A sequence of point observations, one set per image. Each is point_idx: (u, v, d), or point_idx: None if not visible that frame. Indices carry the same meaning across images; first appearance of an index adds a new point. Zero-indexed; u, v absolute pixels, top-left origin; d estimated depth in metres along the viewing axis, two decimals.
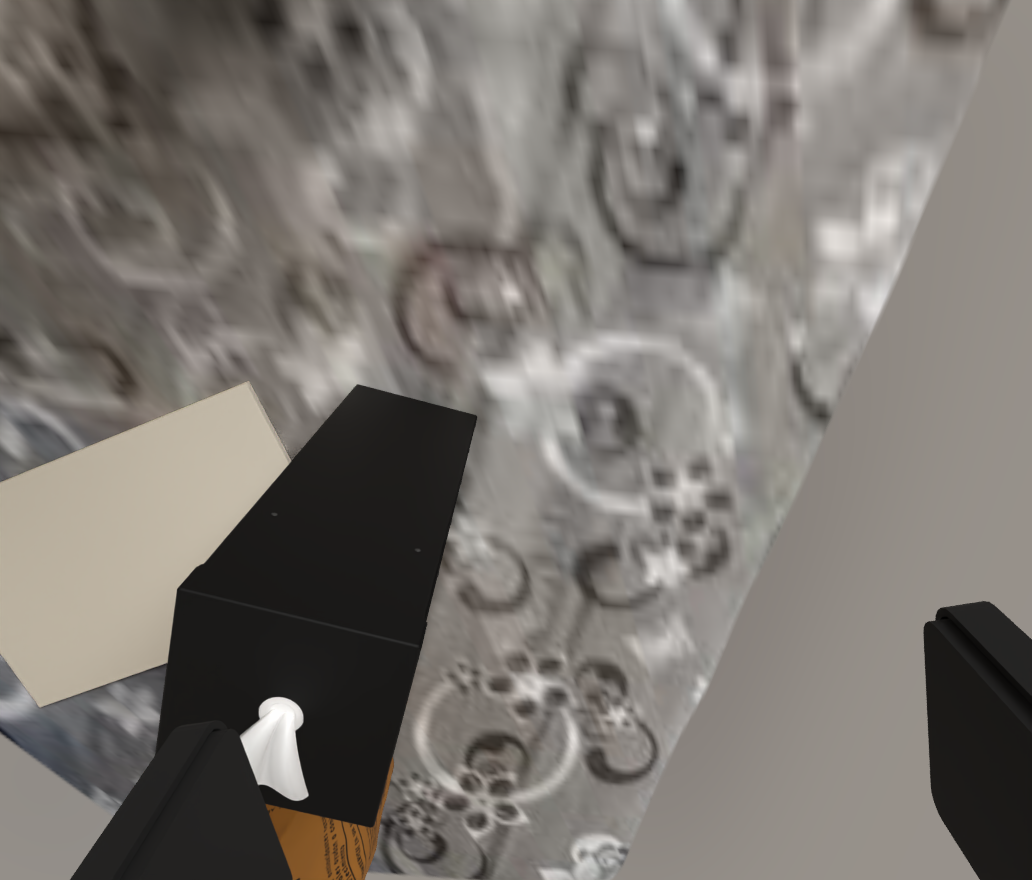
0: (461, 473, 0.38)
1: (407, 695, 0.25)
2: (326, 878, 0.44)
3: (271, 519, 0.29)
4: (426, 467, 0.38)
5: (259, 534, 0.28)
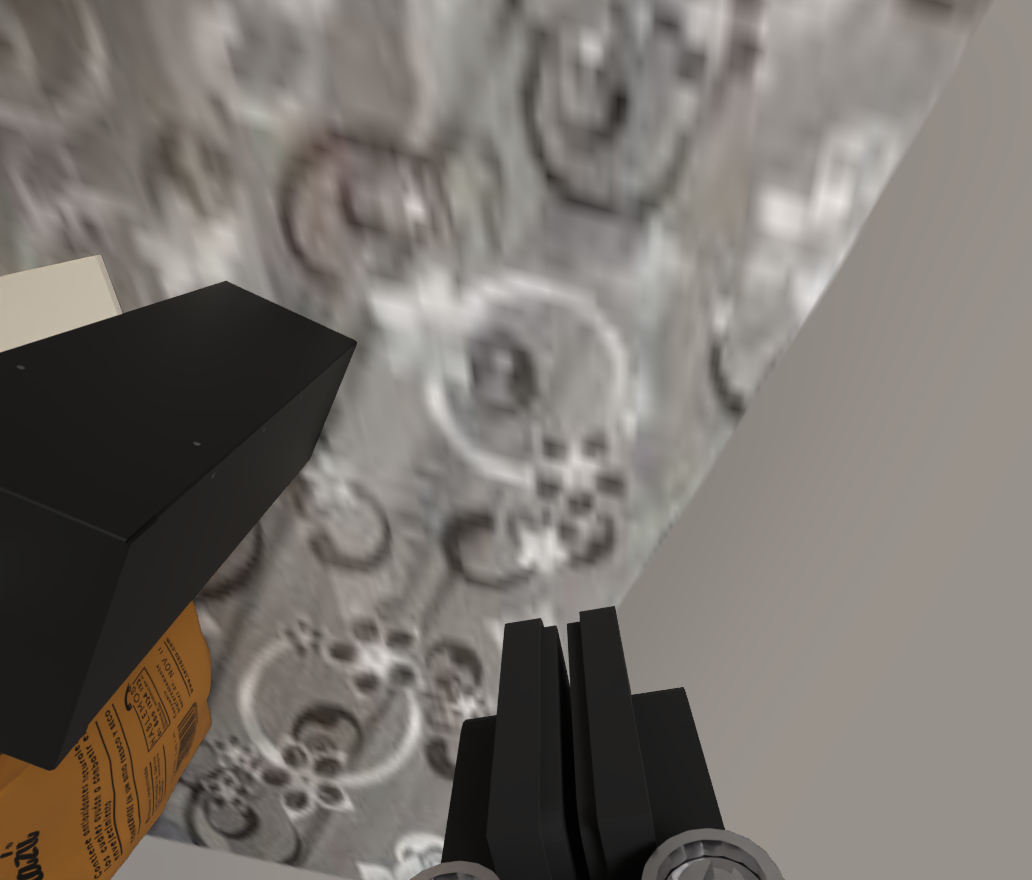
0: (304, 386, 0.32)
1: (108, 604, 0.19)
2: (80, 836, 0.37)
3: (13, 370, 0.23)
4: (263, 370, 0.32)
5: None
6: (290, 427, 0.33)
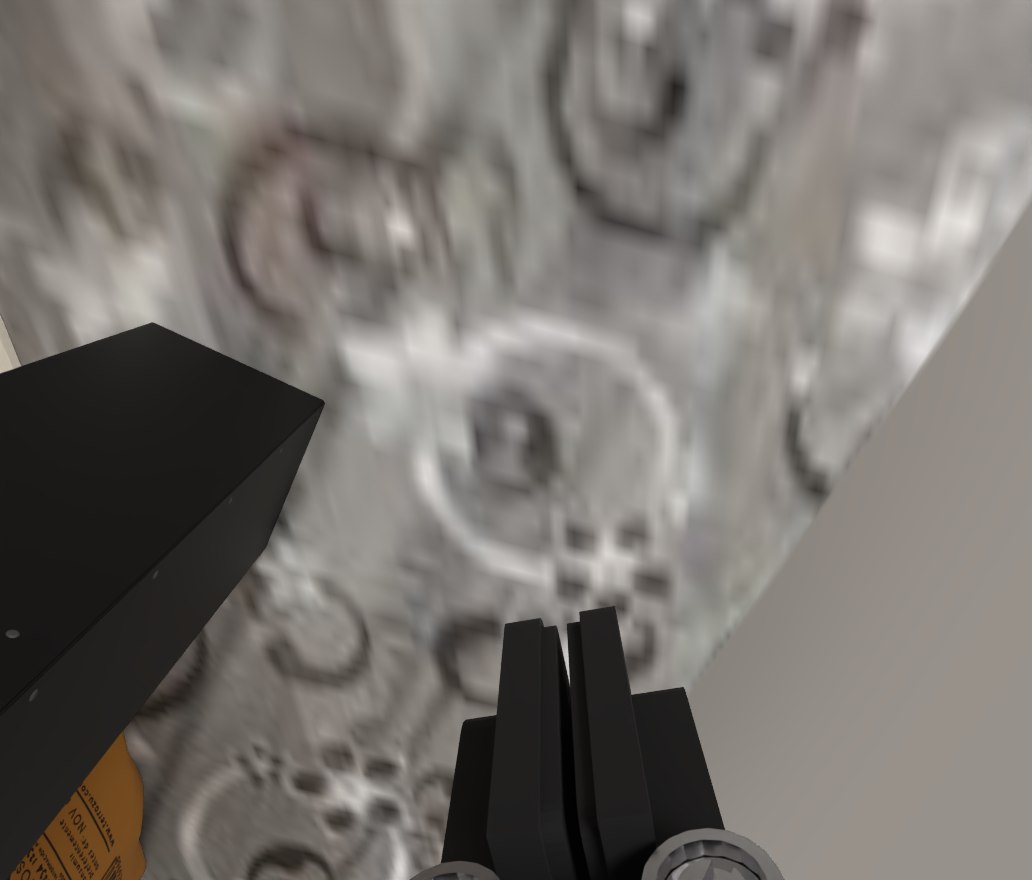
0: (235, 485, 0.23)
1: None
2: None
3: None
4: (175, 464, 0.22)
5: None
6: (217, 541, 0.23)
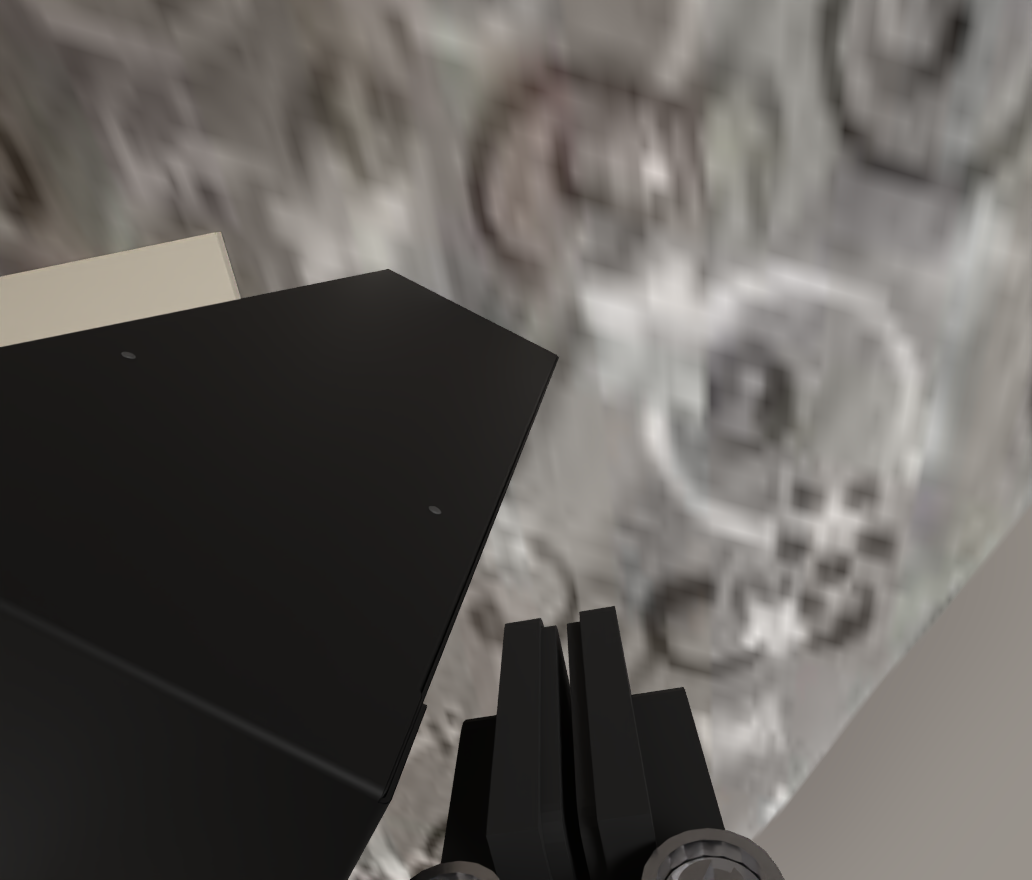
0: (533, 412, 0.21)
1: None
2: None
3: (115, 360, 0.12)
4: (476, 386, 0.21)
5: (57, 375, 0.11)
6: None
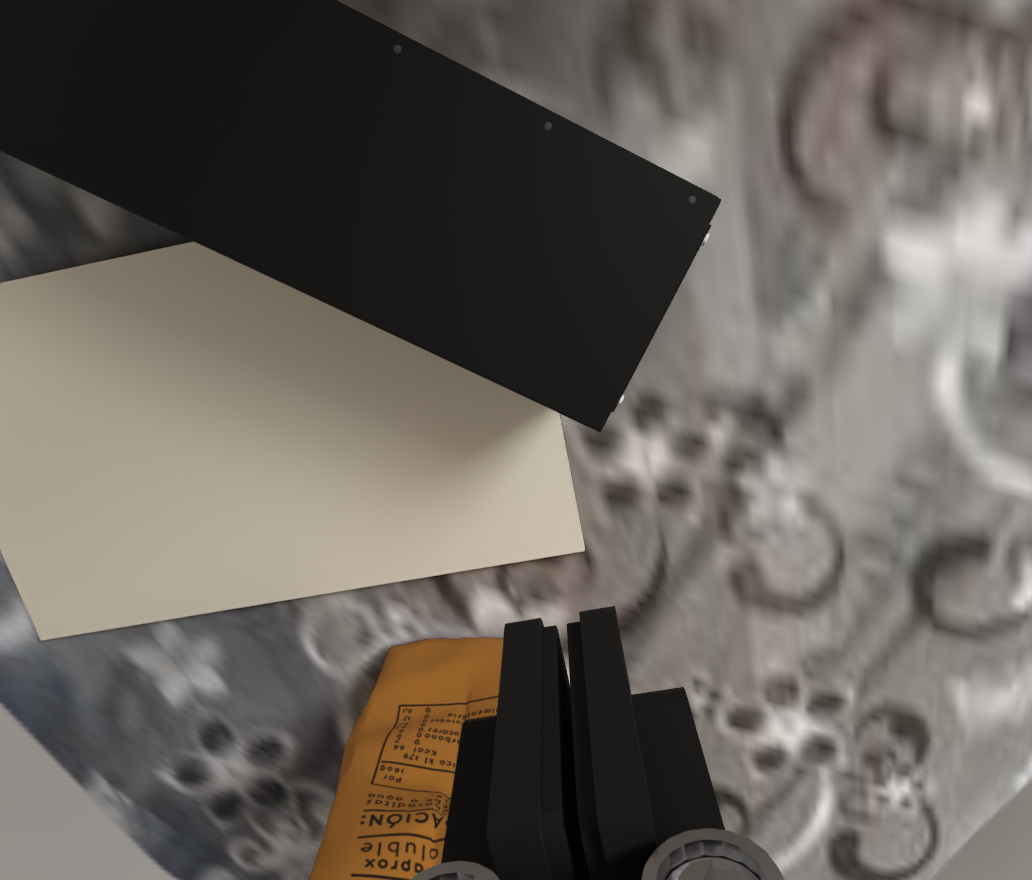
0: (413, 40, 0.21)
1: None
2: None
3: None
4: None
5: None
6: (386, 114, 0.21)
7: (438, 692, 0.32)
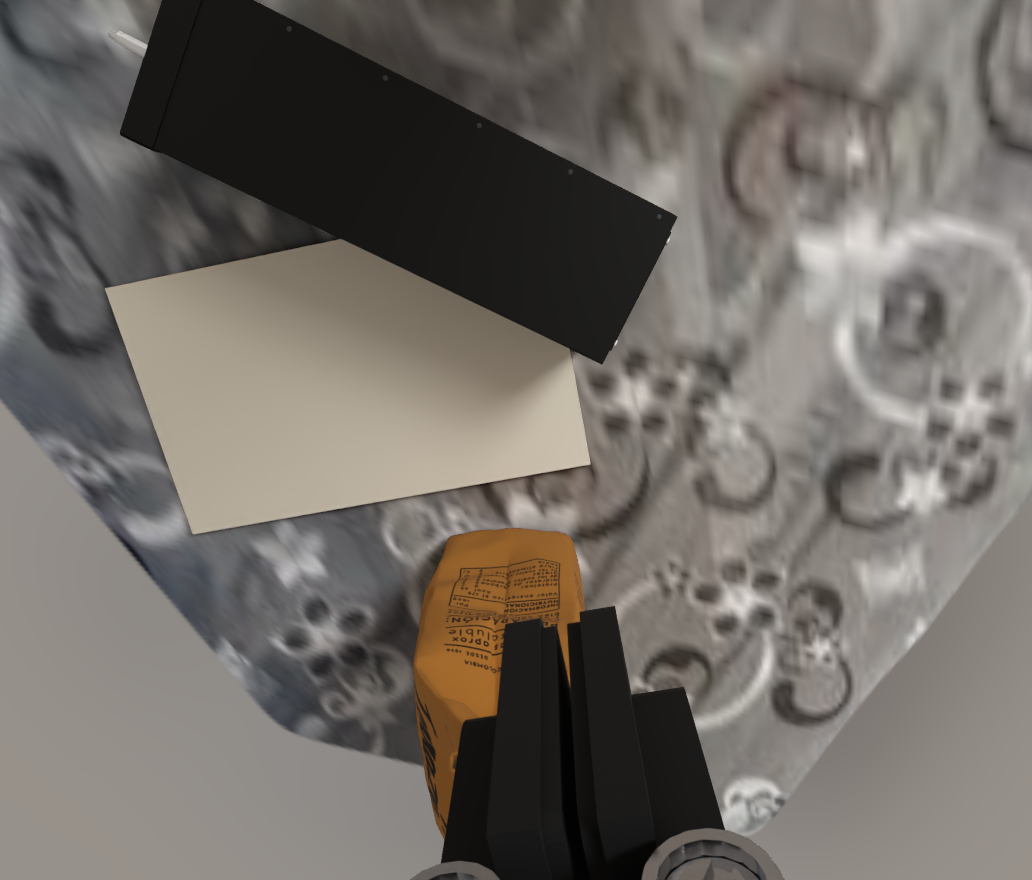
0: (488, 120, 0.34)
1: (161, 4, 0.33)
2: None
3: None
4: None
5: None
6: (471, 164, 0.35)
7: (487, 560, 0.45)
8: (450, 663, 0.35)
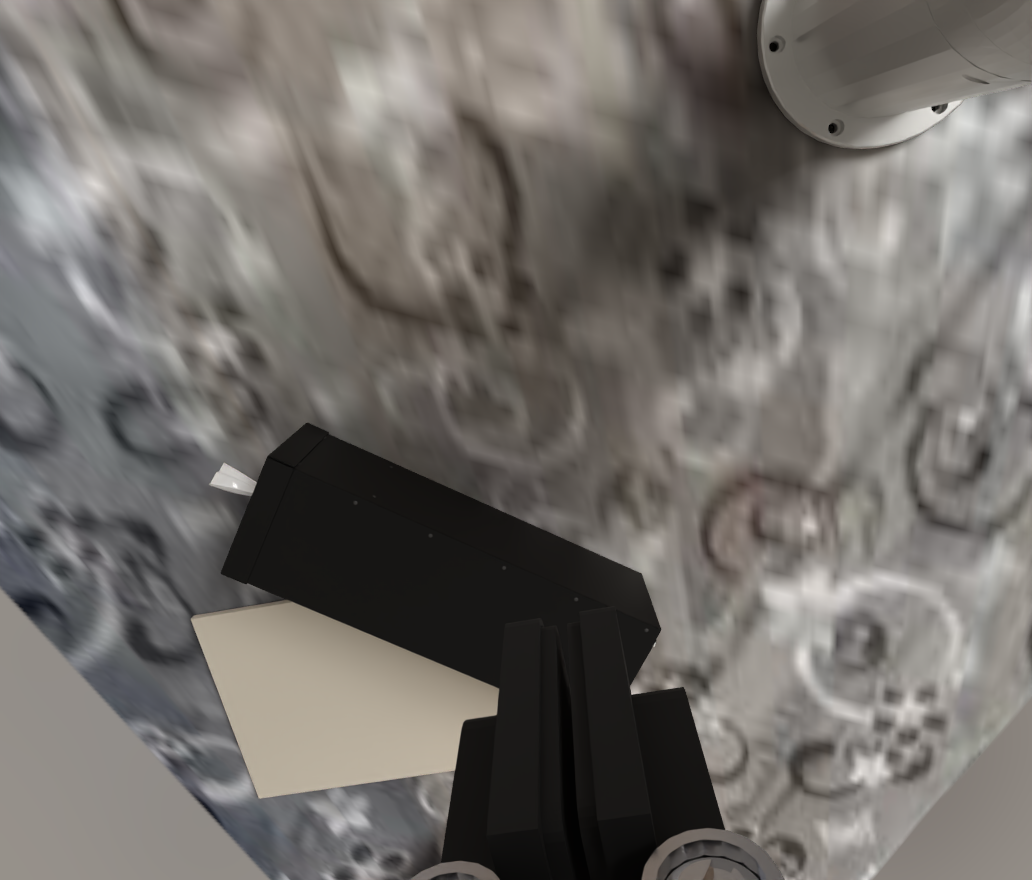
0: (511, 563, 0.43)
1: (255, 486, 0.42)
2: None
3: (385, 464, 0.49)
4: (507, 549, 0.45)
5: (366, 456, 0.49)
6: (497, 594, 0.44)
7: None
8: None
